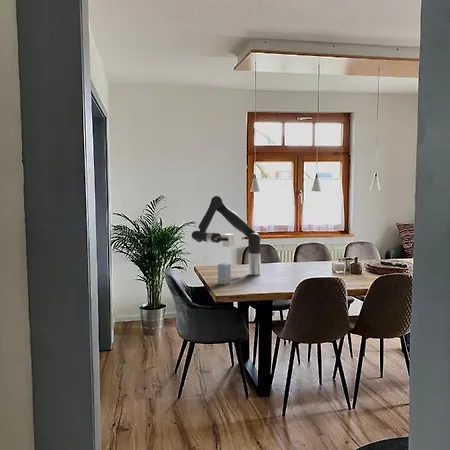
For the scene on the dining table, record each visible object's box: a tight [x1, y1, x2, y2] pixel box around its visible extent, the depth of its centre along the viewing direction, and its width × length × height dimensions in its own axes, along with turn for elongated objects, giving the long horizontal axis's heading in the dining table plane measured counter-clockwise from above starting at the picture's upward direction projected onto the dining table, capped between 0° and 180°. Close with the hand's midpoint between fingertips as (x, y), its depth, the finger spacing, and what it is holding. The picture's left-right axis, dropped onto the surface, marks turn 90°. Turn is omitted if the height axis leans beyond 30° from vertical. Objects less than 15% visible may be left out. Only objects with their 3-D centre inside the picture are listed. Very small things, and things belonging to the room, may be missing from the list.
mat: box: [231, 275, 241, 281], centre depth 354 cm, size 12×12×1 cm
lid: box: [221, 233, 235, 248], centre depth 348 cm, size 6×6×9 cm
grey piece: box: [217, 263, 232, 286], centre depth 336 cm, size 6×6×14 cm
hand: (230, 239), depth 347 cm, fingers closed on lid, 6 cm apart
